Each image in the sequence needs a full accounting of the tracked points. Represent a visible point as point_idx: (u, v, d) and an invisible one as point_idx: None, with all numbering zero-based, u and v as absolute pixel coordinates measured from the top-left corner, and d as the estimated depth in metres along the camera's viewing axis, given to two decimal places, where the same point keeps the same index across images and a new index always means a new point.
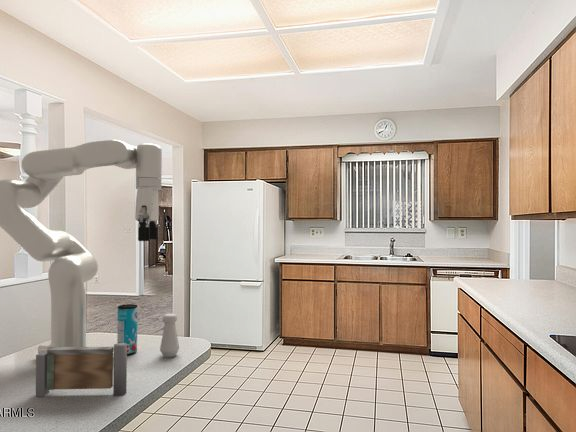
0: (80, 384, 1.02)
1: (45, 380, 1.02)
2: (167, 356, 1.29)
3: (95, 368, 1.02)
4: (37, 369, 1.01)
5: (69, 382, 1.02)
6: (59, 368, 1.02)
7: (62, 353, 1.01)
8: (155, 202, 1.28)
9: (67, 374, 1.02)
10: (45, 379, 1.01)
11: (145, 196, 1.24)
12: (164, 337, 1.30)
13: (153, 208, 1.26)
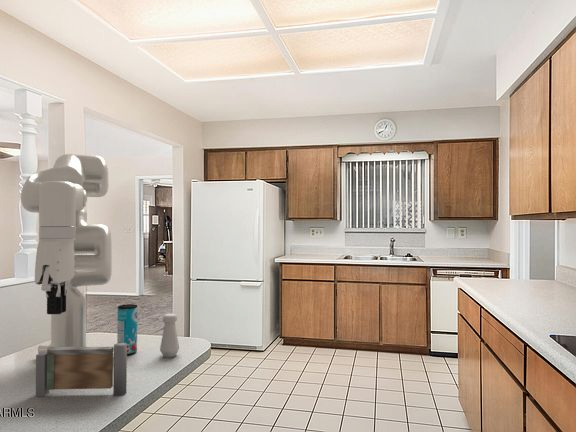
0: (80, 384, 1.02)
1: (45, 380, 1.02)
2: (167, 356, 1.29)
3: (95, 368, 1.02)
4: (37, 369, 1.01)
5: (69, 382, 1.02)
6: (59, 368, 1.02)
7: (62, 353, 1.01)
8: (65, 258, 0.96)
9: (67, 374, 1.02)
10: (45, 379, 1.01)
11: (48, 252, 0.93)
12: (164, 337, 1.30)
13: (60, 267, 0.95)
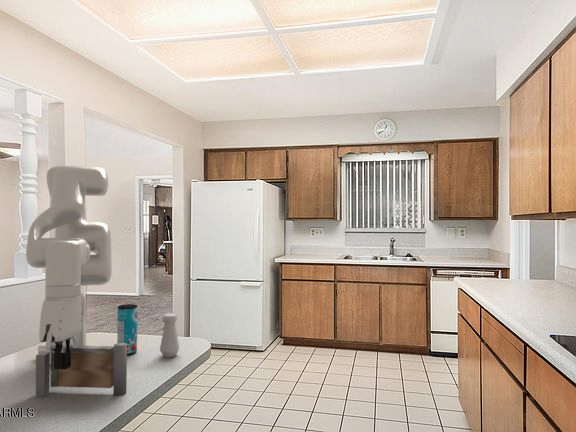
0: (82, 382, 1.03)
1: (45, 380, 1.02)
2: (167, 356, 1.29)
3: (96, 368, 1.03)
4: (37, 369, 1.01)
5: (72, 380, 1.03)
6: None
7: None
8: (68, 316, 0.99)
9: (69, 372, 1.03)
10: (45, 379, 1.01)
11: (51, 312, 0.96)
12: (164, 337, 1.30)
13: (63, 325, 0.97)
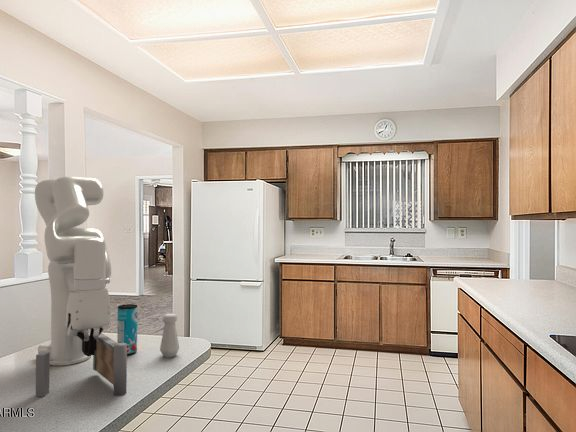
0: (103, 373, 1.10)
1: (45, 380, 1.02)
2: (167, 356, 1.29)
3: (108, 362, 1.07)
4: (37, 369, 1.01)
5: (100, 368, 1.11)
6: (97, 353, 1.13)
7: (97, 340, 1.13)
8: (88, 308, 1.07)
9: (100, 360, 1.12)
10: (45, 379, 1.01)
11: (71, 302, 1.06)
12: (164, 337, 1.30)
13: (81, 316, 1.06)
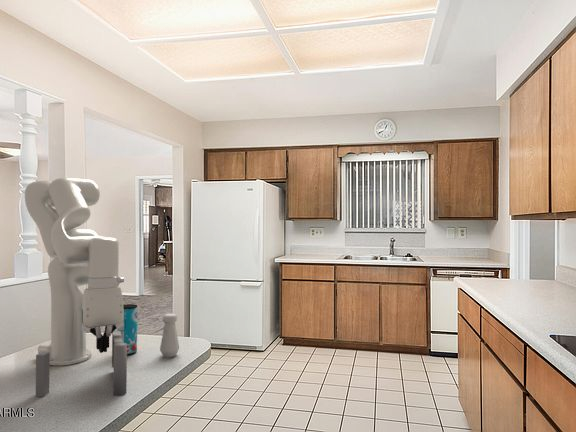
0: None
1: (45, 380, 1.02)
2: (167, 356, 1.29)
3: None
4: (37, 369, 1.01)
5: None
6: (113, 350, 1.16)
7: None
8: (99, 305, 1.10)
9: None
10: (45, 379, 1.01)
11: (83, 299, 1.10)
12: (164, 337, 1.30)
13: (92, 313, 1.09)
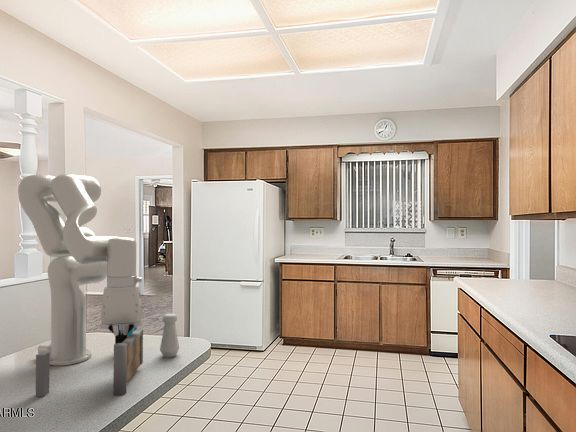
0: None
1: (45, 380, 1.02)
2: (167, 356, 1.29)
3: None
4: (37, 369, 1.01)
5: None
6: None
7: None
8: (115, 304, 1.13)
9: None
10: (45, 379, 1.01)
11: None
12: (164, 337, 1.30)
13: (108, 311, 1.12)
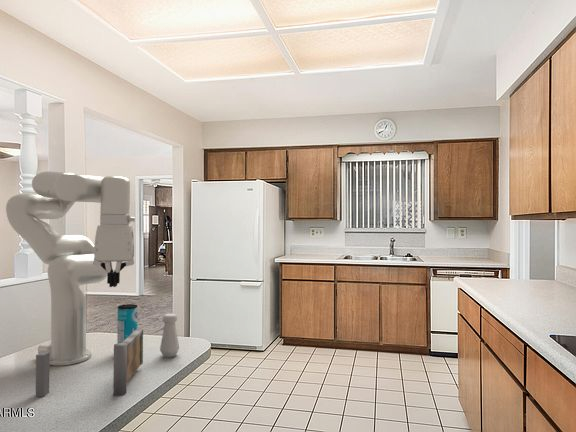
0: None
1: (45, 380, 1.02)
2: (167, 356, 1.29)
3: None
4: (37, 369, 1.01)
5: None
6: None
7: None
8: (107, 241, 1.14)
9: None
10: (45, 379, 1.01)
11: None
12: (164, 337, 1.30)
13: (100, 247, 1.14)
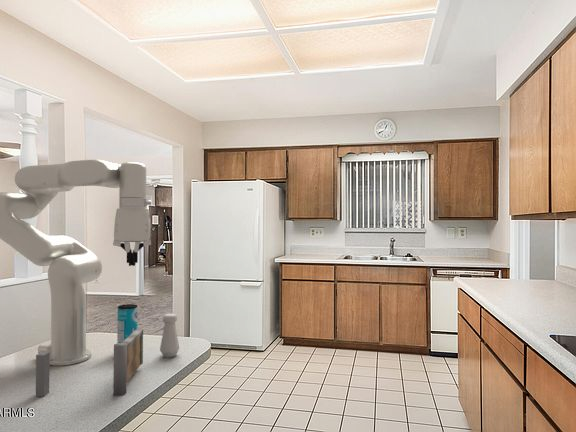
0: None
1: (45, 380, 1.02)
2: (167, 356, 1.29)
3: None
4: (37, 369, 1.01)
5: None
6: None
7: None
8: (126, 222, 1.22)
9: None
10: (45, 379, 1.01)
11: (115, 217, 1.24)
12: (164, 337, 1.30)
13: (120, 229, 1.22)
